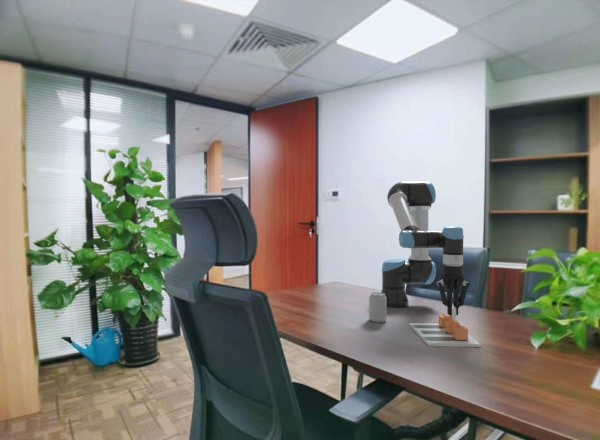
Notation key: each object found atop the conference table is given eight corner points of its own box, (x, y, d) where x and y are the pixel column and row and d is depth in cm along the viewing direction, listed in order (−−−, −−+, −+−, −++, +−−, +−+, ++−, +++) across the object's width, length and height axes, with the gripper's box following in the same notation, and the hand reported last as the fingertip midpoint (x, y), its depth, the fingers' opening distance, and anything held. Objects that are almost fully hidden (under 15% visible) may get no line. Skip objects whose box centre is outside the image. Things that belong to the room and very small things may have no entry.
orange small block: (438, 324, 138) (438, 313, 138) (448, 325, 137) (448, 313, 137) (441, 327, 134) (441, 315, 134) (451, 327, 134) (451, 316, 134)
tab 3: (452, 336, 124) (452, 324, 124) (463, 337, 123) (463, 324, 123) (456, 339, 120) (456, 327, 120) (467, 340, 120) (467, 327, 120)
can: (367, 321, 146) (367, 294, 146) (371, 317, 153) (371, 290, 153) (384, 324, 143) (384, 296, 143) (388, 319, 149) (388, 292, 149)
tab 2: (445, 330, 131) (445, 318, 131) (455, 330, 130) (455, 318, 130) (448, 333, 127) (448, 321, 127) (459, 333, 127) (459, 321, 127)
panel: (409, 325, 141) (409, 322, 141) (453, 326, 140) (453, 323, 140) (428, 346, 118) (428, 342, 118) (480, 346, 117) (480, 343, 117)
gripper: (440, 266, 132) (440, 325, 132) (473, 266, 132) (473, 326, 132) (433, 263, 140) (433, 320, 140) (464, 263, 139) (464, 320, 139)
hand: (452, 323), depth 136 cm, fingers closed
